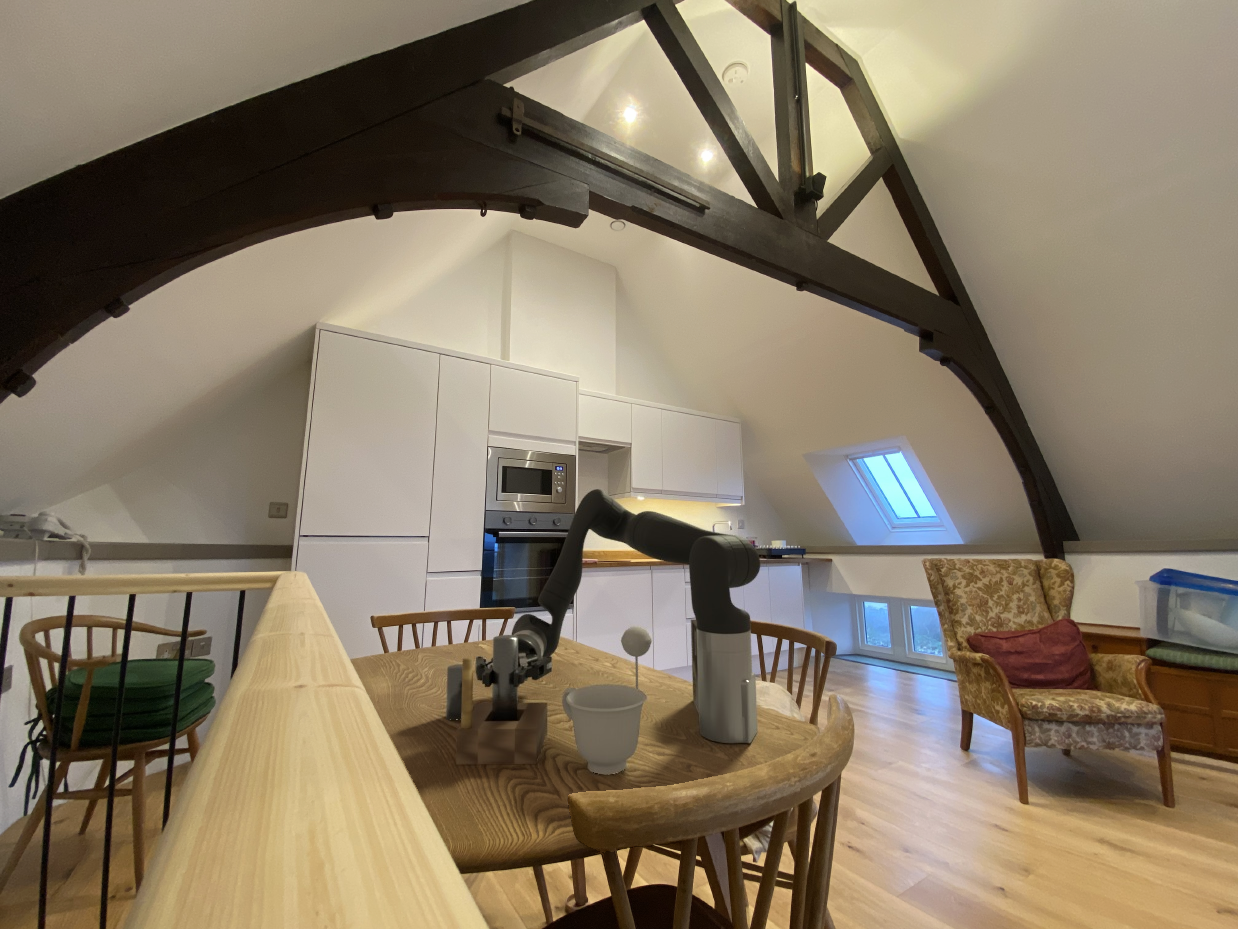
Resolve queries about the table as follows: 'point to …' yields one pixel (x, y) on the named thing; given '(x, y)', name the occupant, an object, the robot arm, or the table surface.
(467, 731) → the hole block
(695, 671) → the coffee box
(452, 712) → the short pin
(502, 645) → the long pin
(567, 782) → the table surface
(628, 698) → the teacup
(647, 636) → the lollipop
